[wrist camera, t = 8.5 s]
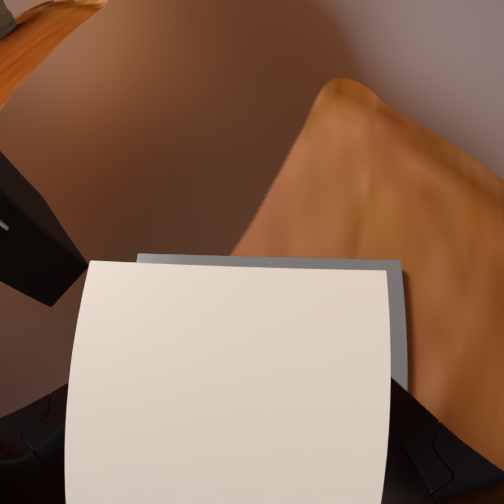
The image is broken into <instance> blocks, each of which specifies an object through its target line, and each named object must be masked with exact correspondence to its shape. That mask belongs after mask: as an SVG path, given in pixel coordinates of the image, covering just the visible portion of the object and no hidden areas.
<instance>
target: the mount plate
mask: <svg viewBox="0 0 504 504" xmlns="http://www.w3.org/2000/svg"><path fill="white" fill-rule="evenodd" d="M136 263H153V264H177V265H203V266H231V267H262V268H296V269H336V270H385V271H386V274H387V286H388V301H389V319H390V351H391V377H392V378H393V379H394V380H395V381H396V382H398V383H399V384H400V385H401V386H402V387H403V388H404V389H405V390H406V391H407V333H406V315H405V301H404V289H403V279H402V269H401V261H400V260H372V259H327V258H285V257H245V256H207V255H170V254H169V255H168V254H138V257H137V262H136Z"/></svg>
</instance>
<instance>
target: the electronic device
mask: <svg viewBox="0 0 504 504" xmlns="http://www.w3.org/2000/svg"><path fill="white" fill-rule="evenodd" d="M87 268H88V264H87V262H86V261H85V259H84V258H83V256H82V255H81V254H80V252H79V251H78V249H77V248H76V247H75V245H74V244H73V242H72V241H71V239H70V238H69V237H68V235H67V234H66V232H65V231H64V229H63V228H62V226H61V225H60V223H59V221H58V220H57V218H56V217H55V215H54V214H53V212H52V211H51V209H50V208H49V206H48V204H47V203H46V201H45V200H44V198H43V197H42V196H41V195H40V193H39V192H38V191H37V190H36V189H35V188H34V187H33V186H32V185H31V184H30V183H29V182H28V181H27V180H26V179H25V178H24V177H23V176H22V175H21V174H20V172H18V170H17V169H16V168H15V167H14V166H13V165H12V164H11V162H10V161H9V160H8V159H7V158H6V157H5V156H4V155H3V154H2V152H1V151H0V281H1V282H3V283H5V284H7V285H9V286H11V287H13V288H15V289H16V290H18V291H20V292H22V293H24V294H26V295H28V296H29V297H31V298H33V299H35V300H37V301H39V302H42V303H43V304H45V305H48V306H51V307H52V306H53V305H54V304H55V303H56V301H57V300H58V299H59V298H60V297H61V296H62V295H63V294H64V293H65V292H66V291H67V289H68V288H69V287H70V286H71V285H72V284H73V283H74V282H75V281H76V280H77V279H78V278H79V277H80V275H81V274H82V273H83V272H84V271H85V270H86V269H87Z"/></svg>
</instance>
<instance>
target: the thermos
mask: <svg viewBox="0 0 504 504" xmlns="http://www.w3.org/2000/svg"><path fill="white" fill-rule="evenodd" d="M16 27H17V24H16V23H15V21H14V17H13V15H12V13H11V12H10V11H9V10H8V9H7V7H6V5H5V4H4V1H3V0H0V40H1V39H2V38H4V37H5V36H6V35H8V34H9V33H10V32H11V31H13V30H14V29H15V28H16Z"/></svg>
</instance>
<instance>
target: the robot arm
mask: <svg viewBox="0 0 504 504" xmlns="http://www.w3.org/2000/svg"><path fill="white" fill-rule="evenodd" d="M68 386H69V383H67V384H65V385H64V386H62V387H60V388H58V389H57V390H55V391H53V392H52V393H51V394H48V395H46V396H44V397H42V398H41V399H39V400H37V401H35V402H33V403H32V404H29V405H28V406H25V407H23V408H21V409H19V410H17V411H15V412H13V413H10V414H8V415H6V416H4V417H2V418H0V504H66V495H65V427H66V410H67V397H68ZM438 422H439V420H438V419H437V418H436V417H435V416H433V415H432V414H431V413H430V412H429V411H428V410H427V409H426V408H425V407H424V406H423V405H421V404H420V403H419V402H418V401H417V400H416V399H415V398H414V397H413V396H412V395H411V394H410V393H408V392H407V391H406V390H405V389H404V388H403V387H402V386H401V385H400V384H399V383H398V382H396V381H395V380H394V379H393V378H392V377H391V385H390V415H389V433H388V446H387V457H386V467H385V476H384V484H383V492H382V499H381V504H504V471H502V470H501V469H500V468H498V467H497V466H495V465H494V464H493V463H491V462H490V461H488V460H487V459H486V458H484V457H483V456H481V455H480V454H479V453H477V452H476V451H475V450H473V449H472V448H471V447H469V446H468V445H467V444H465V443H464V442H463V441H462V440H460V439H459V438H458V437H457V436H456V435H455V434H453V433H452V432H451V431H450V430H449V429H448V428H447V427H446V426H444V425H443V424H442V423H441V422H439V423H438Z"/></svg>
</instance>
